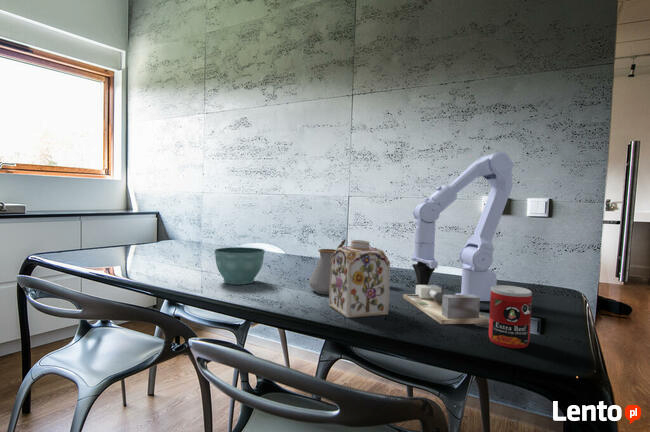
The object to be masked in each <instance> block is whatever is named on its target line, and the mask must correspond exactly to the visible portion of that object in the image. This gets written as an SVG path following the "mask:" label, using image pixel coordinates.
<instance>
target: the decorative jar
mask: <svg viewBox="0 0 650 432" xmlns="http://www.w3.org/2000/svg"><path fill="white" fill-rule="evenodd" d="M337 248H338V247H337ZM337 248H336V249H335V250H336V251H335V253H333V255H332V257H331V271H330V293H329V294H328V295H329V299H328V300H329V301H328V302H329V303H328V305H329V306H330V307H331V308H333V309H334V310H335V311H336V312H338V313H340V314H341V315H343V316H344V317H345V318H349V319H350V318H351V319H352V318H362V317H372V316H384V315H386V316H387V315H389V307H390V306H389V302H390V281H391V280H390V278H391V273H390V272H391V262H390V260H389V258H388V256H386V255H387V254H386V253H385V252H384V250H383V249H380V248H376V247H372V246H370V241H368V240H362V239H361V240H359V239H352V240H351V242H350V246H349V245H348V246H347V245H344V246H342V247H340V248H338V249H337Z"/></svg>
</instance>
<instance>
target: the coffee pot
mask: <svg viewBox="0 0 650 432" xmlns="http://www.w3.org/2000/svg"><path fill="white" fill-rule="evenodd" d="M346 242H347V244H345V243H346ZM347 245H348V246H349V242H348V240H346V239H343V240H342V241H341V242H340V244H339V245H338V246H337V248H336V249H335V248H334V249H333V248H331V249H330V248H321V249H318V250H317V251H318V252H319V256H320V257H319V258H318V261H317V263H316V265H315V267H314V270H313V271H312V272H313V273H311V274H312V275H311V276H310V279H309V280H308V281H309V282H308V283H309V286H310V288H311V289H312V290H314V292H315V293H317V294H320V295H329V293H330V271H331V257H332V255H333V253H335V251H336V250H337V249H338V248H340V247H344V246H347Z"/></svg>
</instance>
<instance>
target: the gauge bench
mask: <svg viewBox="0 0 650 432" xmlns="http://www.w3.org/2000/svg"><path fill="white" fill-rule="evenodd" d="M415 294H416V293H415ZM415 294H414V293H411V294H409V293H408V294H407V293H405V294H402V298H403V299H405V300H406V301H407V302H408V303H410V304H412V305H413V306H414V307H416V308H417V309H419V310H420V311H422V312H423V313H425V314H426V315H427V316H429V317H430V318H431V319H433V320H434V321H436V322H437V323H439V324H440V325H460V324H461V325H466V324H467V325H469V324H471V325H472V324H473V325H475V324H477V325H478V324H479V325H481V324H488V325H489V318H487V317H485V316H483V315H481V314H480V306H481V305H480V304H481V303H480V302H481V301H480V297H477V296H475V295H455V294H444V295H443V300H442V303H441V304H439V303H437V302H435V300H434V298H420V297H418V296H407V295H415Z"/></svg>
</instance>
